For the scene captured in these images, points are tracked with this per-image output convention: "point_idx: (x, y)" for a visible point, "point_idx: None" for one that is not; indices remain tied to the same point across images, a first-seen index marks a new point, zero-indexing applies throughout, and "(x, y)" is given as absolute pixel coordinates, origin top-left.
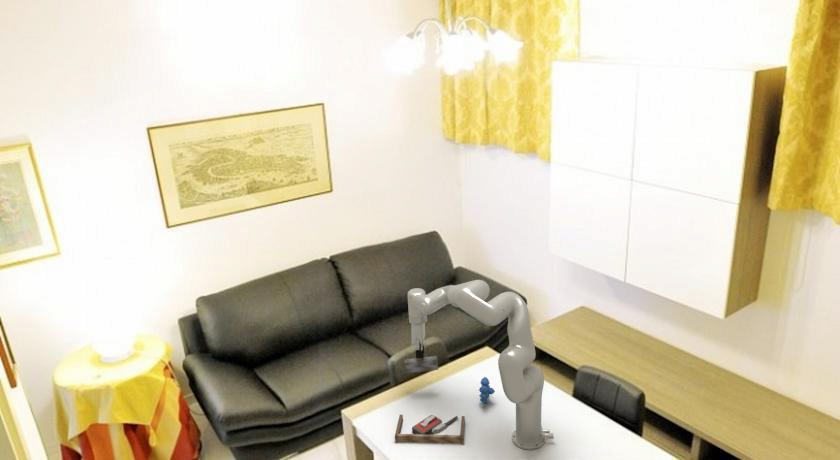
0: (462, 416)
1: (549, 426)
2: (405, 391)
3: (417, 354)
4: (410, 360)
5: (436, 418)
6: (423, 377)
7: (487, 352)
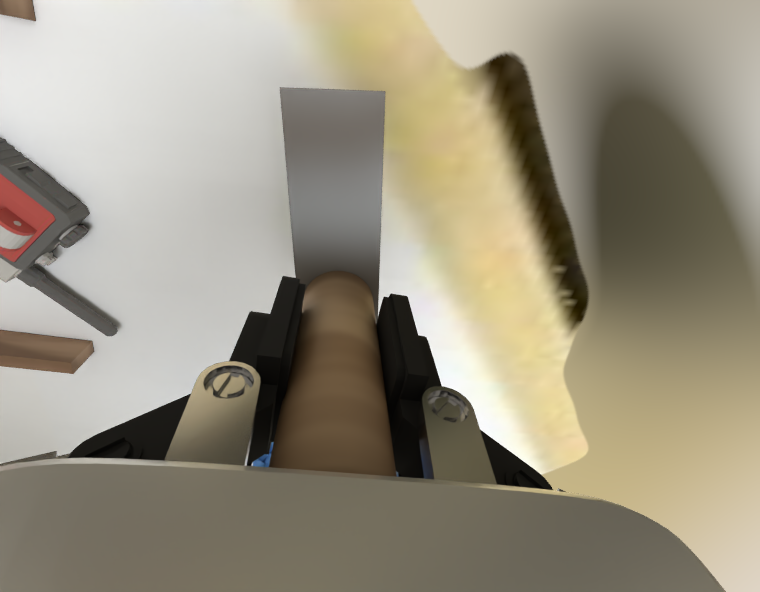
0: (68, 365)
1: None
2: (380, 75)
3: (242, 334)
4: (338, 179)
5: (11, 249)
6: (496, 205)
7: (573, 457)
